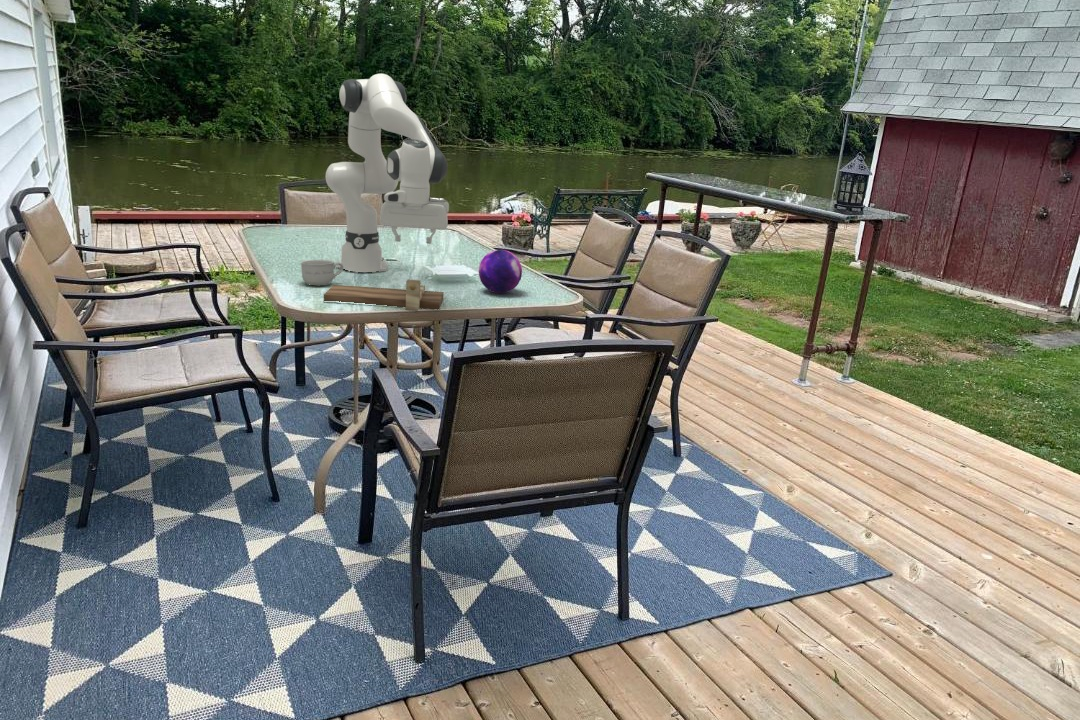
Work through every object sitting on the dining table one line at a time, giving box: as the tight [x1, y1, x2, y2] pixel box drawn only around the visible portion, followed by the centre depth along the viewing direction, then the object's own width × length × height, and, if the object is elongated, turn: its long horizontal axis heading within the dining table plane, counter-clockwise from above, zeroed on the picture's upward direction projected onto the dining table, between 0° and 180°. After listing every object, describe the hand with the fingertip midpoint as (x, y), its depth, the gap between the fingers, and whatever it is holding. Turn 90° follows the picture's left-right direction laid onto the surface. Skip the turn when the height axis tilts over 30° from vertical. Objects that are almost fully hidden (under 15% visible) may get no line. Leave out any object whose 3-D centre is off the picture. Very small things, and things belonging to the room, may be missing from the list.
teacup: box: [300, 259, 344, 287], centre depth 273 cm, size 14×11×8 cm
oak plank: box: [323, 284, 445, 311], centre depth 259 cm, size 14×36×2 cm, turn 91°
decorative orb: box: [478, 249, 523, 294], centre depth 279 cm, size 15×15×15 cm
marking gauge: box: [405, 278, 426, 311], centre depth 256 cm, size 17×4×9 cm, turn 1°
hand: (413, 242), depth 245 cm, fingers open, 8 cm apart
